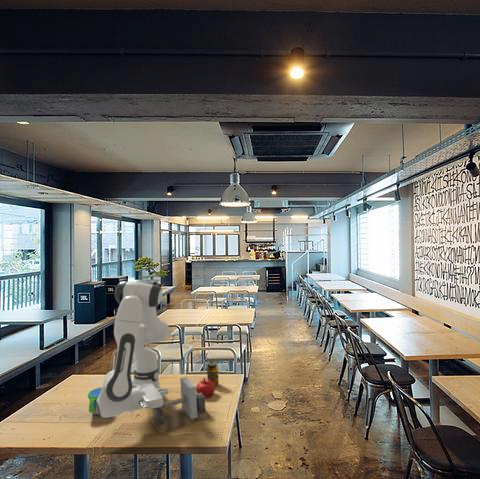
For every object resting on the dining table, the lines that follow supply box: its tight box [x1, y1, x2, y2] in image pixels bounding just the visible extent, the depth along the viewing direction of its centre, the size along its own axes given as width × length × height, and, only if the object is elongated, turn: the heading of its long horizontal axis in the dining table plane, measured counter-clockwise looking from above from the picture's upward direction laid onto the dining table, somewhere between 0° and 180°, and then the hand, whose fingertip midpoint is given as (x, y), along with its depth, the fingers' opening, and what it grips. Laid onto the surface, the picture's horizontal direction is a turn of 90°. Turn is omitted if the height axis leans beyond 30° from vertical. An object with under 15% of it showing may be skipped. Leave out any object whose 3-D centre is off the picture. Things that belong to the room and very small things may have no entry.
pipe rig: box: [150, 393, 211, 434], centre depth 164 cm, size 24×14×9 cm, turn 118°
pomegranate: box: [195, 377, 216, 398], centre depth 187 cm, size 10×10×9 cm
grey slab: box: [179, 376, 197, 419], centre depth 166 cm, size 3×13×14 cm, turn 28°
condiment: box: [206, 362, 222, 389], centre depth 198 cm, size 7×8×12 cm
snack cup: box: [87, 386, 102, 415], centre depth 174 cm, size 16×10×10 cm
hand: (167, 390), depth 161 cm, fingers closed
